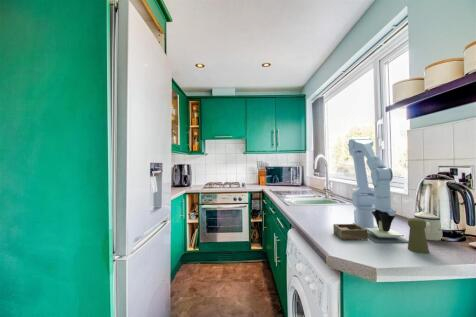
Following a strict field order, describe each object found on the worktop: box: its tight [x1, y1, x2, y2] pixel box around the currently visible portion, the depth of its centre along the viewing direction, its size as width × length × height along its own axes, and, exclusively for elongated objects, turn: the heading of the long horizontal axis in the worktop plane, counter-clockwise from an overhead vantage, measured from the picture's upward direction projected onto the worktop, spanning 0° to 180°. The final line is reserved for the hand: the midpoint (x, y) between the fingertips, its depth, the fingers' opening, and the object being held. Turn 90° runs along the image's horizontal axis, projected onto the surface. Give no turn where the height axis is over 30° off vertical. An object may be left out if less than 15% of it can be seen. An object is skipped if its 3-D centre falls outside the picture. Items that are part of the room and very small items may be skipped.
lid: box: [364, 221, 405, 238], centre depth 97 cm, size 10×10×5 cm
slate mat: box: [367, 232, 409, 244], centre depth 97 cm, size 13×13×1 cm
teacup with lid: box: [413, 210, 443, 242], centre depth 95 cm, size 12×9×12 cm
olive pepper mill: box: [407, 217, 430, 254], centre depth 83 cm, size 6×6×11 cm
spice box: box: [332, 223, 369, 241], centre depth 100 cm, size 10×10×4 cm
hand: (383, 229), depth 97 cm, fingers closed on lid, 3 cm apart
